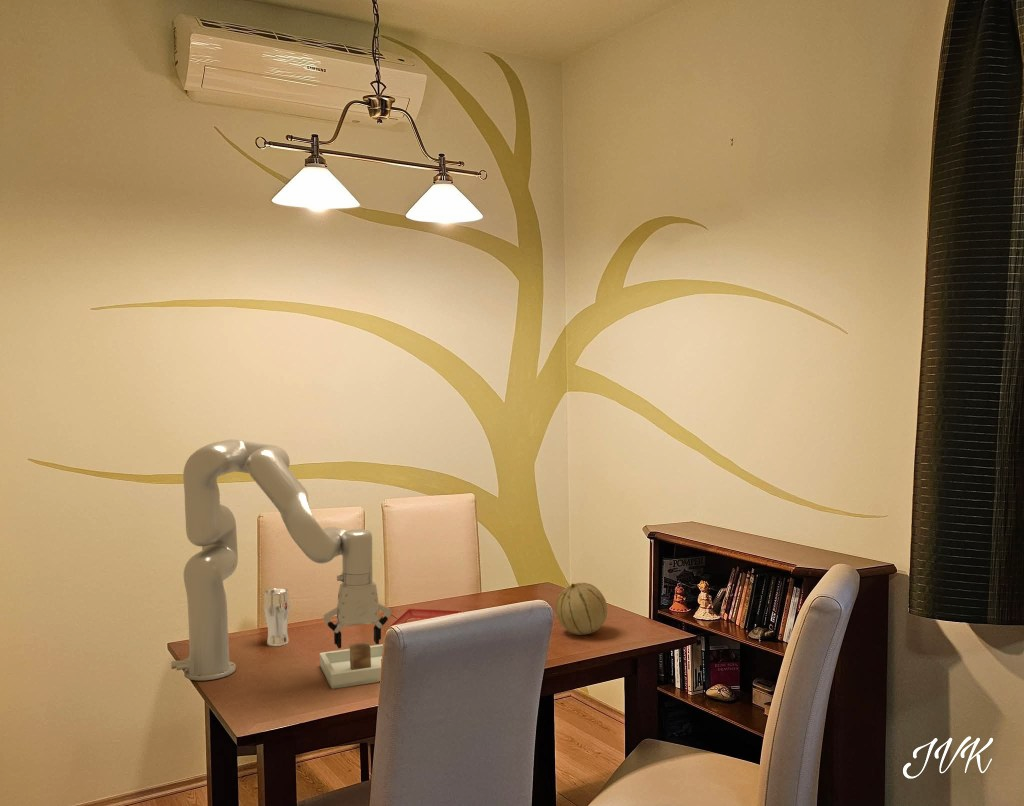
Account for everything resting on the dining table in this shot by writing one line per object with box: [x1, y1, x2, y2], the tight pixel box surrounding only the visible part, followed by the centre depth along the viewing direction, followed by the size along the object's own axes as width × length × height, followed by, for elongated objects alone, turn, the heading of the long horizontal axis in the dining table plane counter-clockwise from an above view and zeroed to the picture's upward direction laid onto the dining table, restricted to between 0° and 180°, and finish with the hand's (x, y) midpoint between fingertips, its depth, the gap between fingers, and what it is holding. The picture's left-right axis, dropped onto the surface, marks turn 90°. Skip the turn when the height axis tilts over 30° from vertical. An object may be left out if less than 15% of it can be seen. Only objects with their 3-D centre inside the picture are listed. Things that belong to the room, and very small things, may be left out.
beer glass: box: [263, 587, 290, 647], centre depth 251 cm, size 7×7×15 cm
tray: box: [319, 643, 384, 690], centre depth 225 cm, size 18×18×4 cm
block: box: [349, 641, 371, 670], centre depth 225 cm, size 4×4×6 cm
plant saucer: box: [388, 608, 464, 628], centre depth 263 cm, size 18×18×3 cm
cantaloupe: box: [555, 582, 608, 636], centre depth 253 cm, size 15×15×15 cm
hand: (357, 644), depth 225 cm, fingers open, 9 cm apart
